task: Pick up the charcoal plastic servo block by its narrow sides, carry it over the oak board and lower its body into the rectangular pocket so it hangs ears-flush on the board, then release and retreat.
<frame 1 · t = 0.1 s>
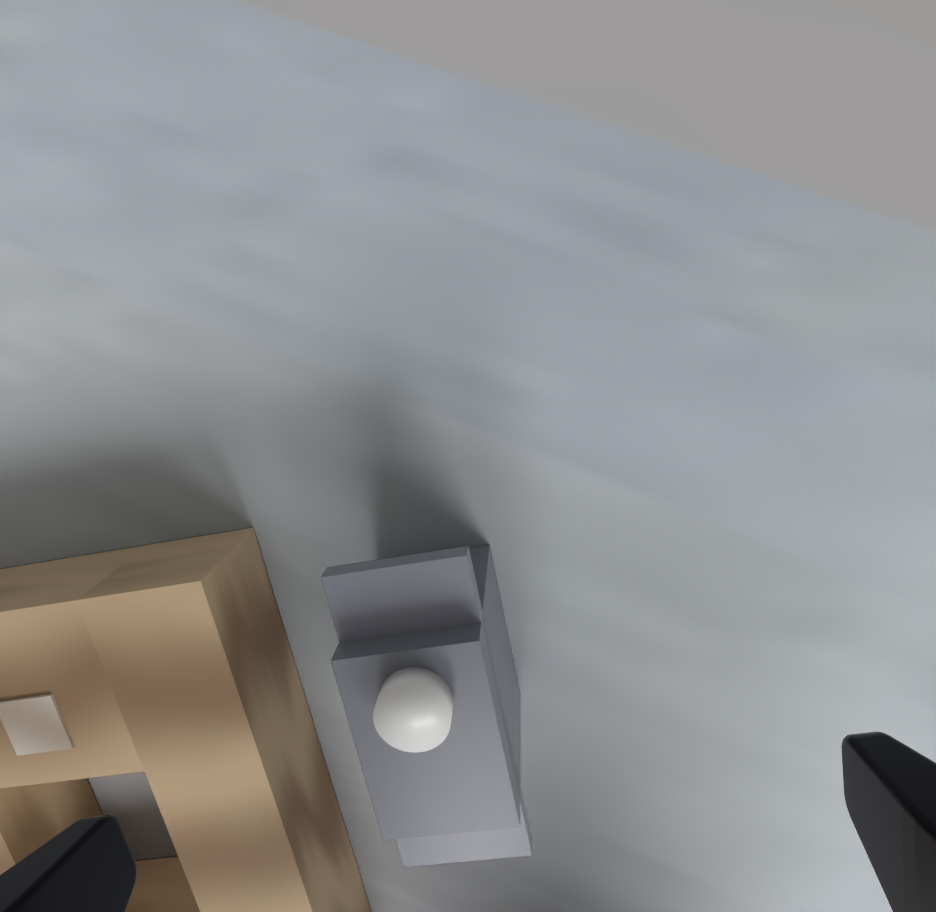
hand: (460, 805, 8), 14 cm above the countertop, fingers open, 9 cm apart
chassis board: (159, 782, 27), on the countertop
servo: (450, 628, 24), on the countertop
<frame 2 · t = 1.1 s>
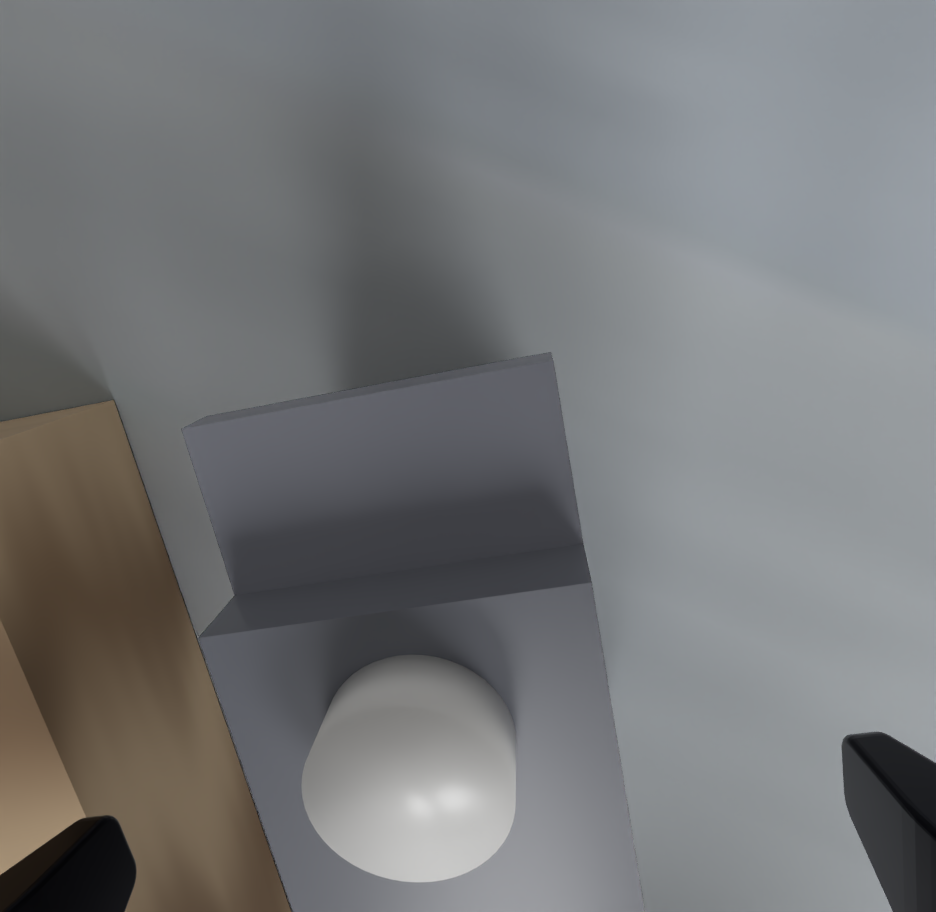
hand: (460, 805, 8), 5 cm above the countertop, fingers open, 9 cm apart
servo: (480, 591, 13), on the countertop
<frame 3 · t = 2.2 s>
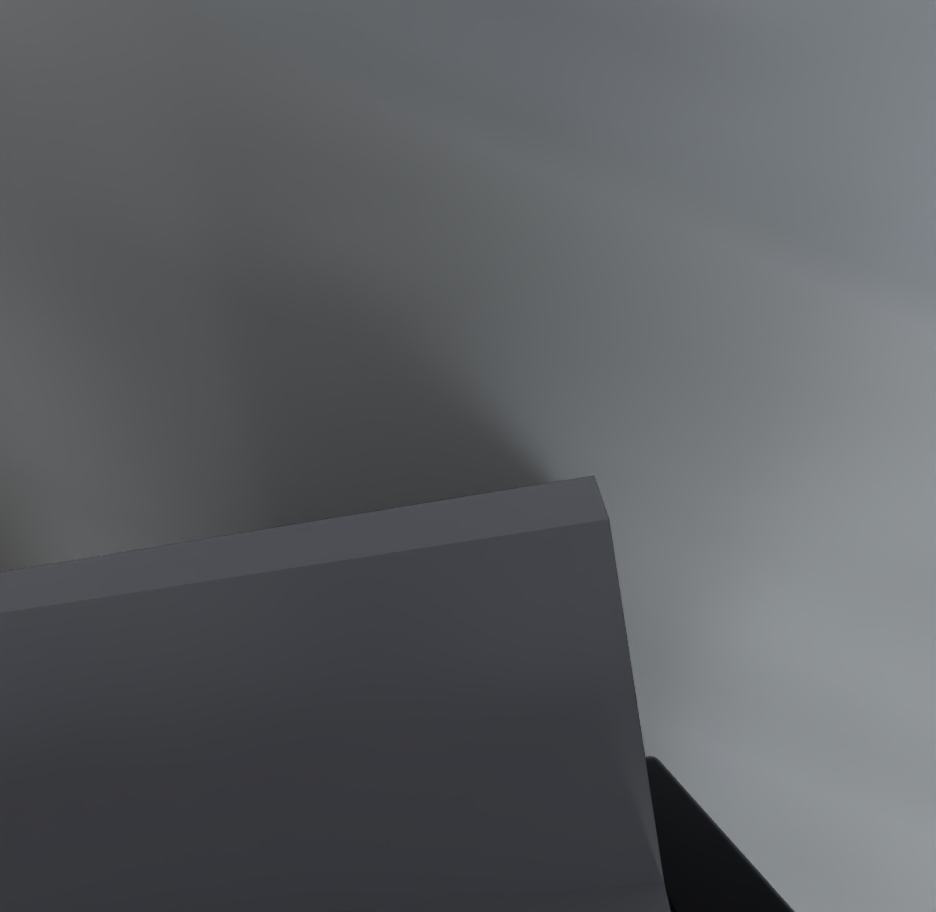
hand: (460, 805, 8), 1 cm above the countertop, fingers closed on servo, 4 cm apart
servo: (468, 734, 9), on the countertop, touching gripper
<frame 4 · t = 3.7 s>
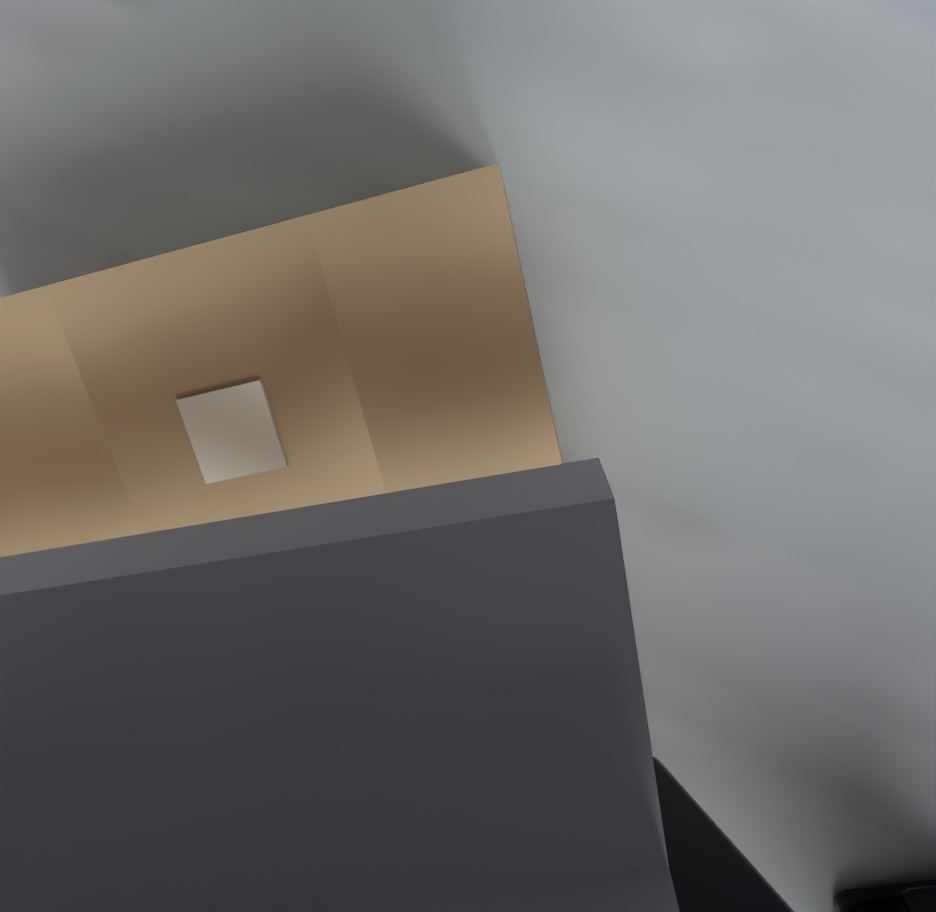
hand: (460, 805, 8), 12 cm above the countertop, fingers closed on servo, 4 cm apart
chassis board: (351, 586, 20), on the countertop
servo: (469, 729, 9), point 10 cm above the countertop, touching gripper
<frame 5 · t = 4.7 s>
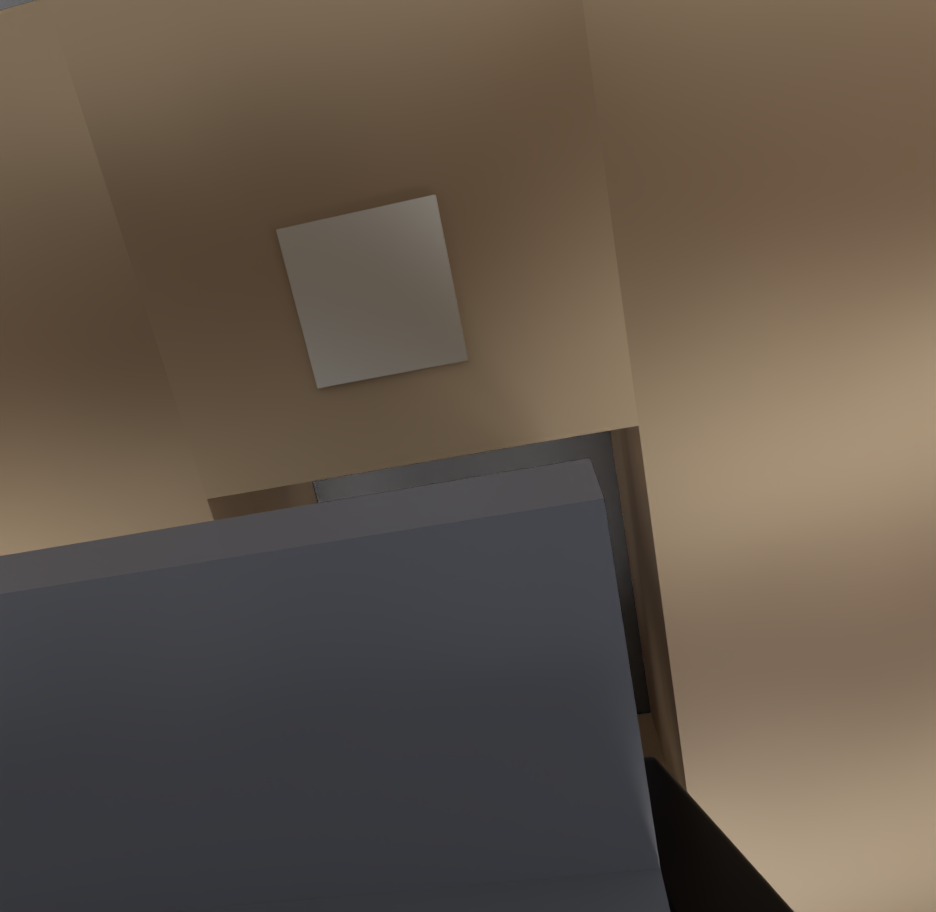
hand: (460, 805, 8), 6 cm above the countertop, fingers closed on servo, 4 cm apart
chassis board: (482, 577, 14), on the countertop
servo: (466, 729, 9), point 5 cm above the countertop, touching gripper
when the fingers open (4 cm above the countertop, at t = 5.3 s): servo drops 3 cm, resting in chassis board.
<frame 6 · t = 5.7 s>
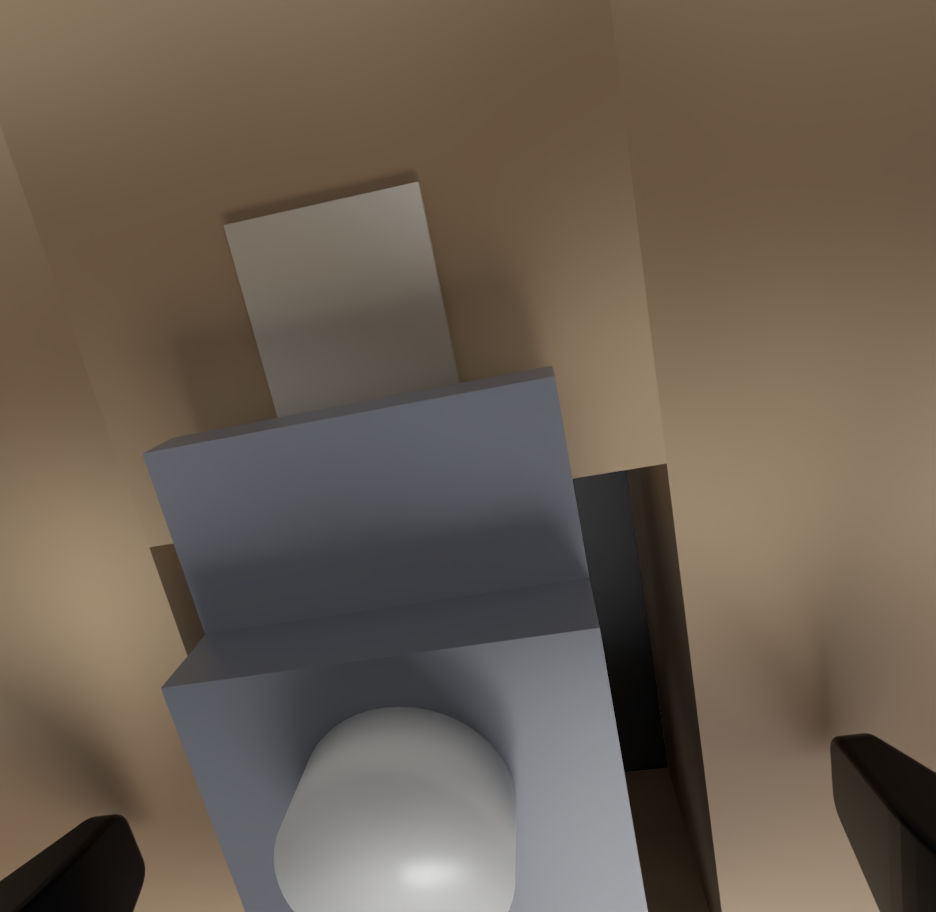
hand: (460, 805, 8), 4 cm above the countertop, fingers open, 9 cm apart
chassis board: (479, 618, 12), on the countertop
servo: (479, 612, 12), resting in chassis board
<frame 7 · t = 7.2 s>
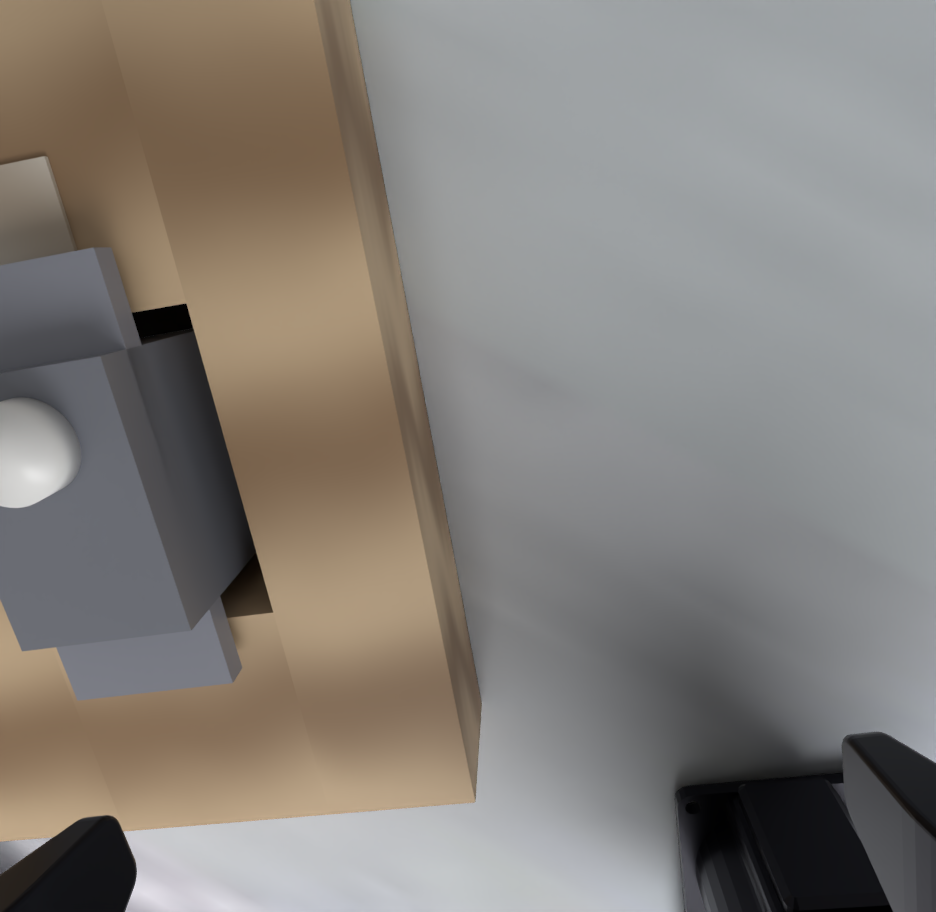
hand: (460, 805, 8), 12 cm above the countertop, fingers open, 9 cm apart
chassis board: (189, 439, 19), on the countertop
servo: (191, 436, 19), resting in chassis board
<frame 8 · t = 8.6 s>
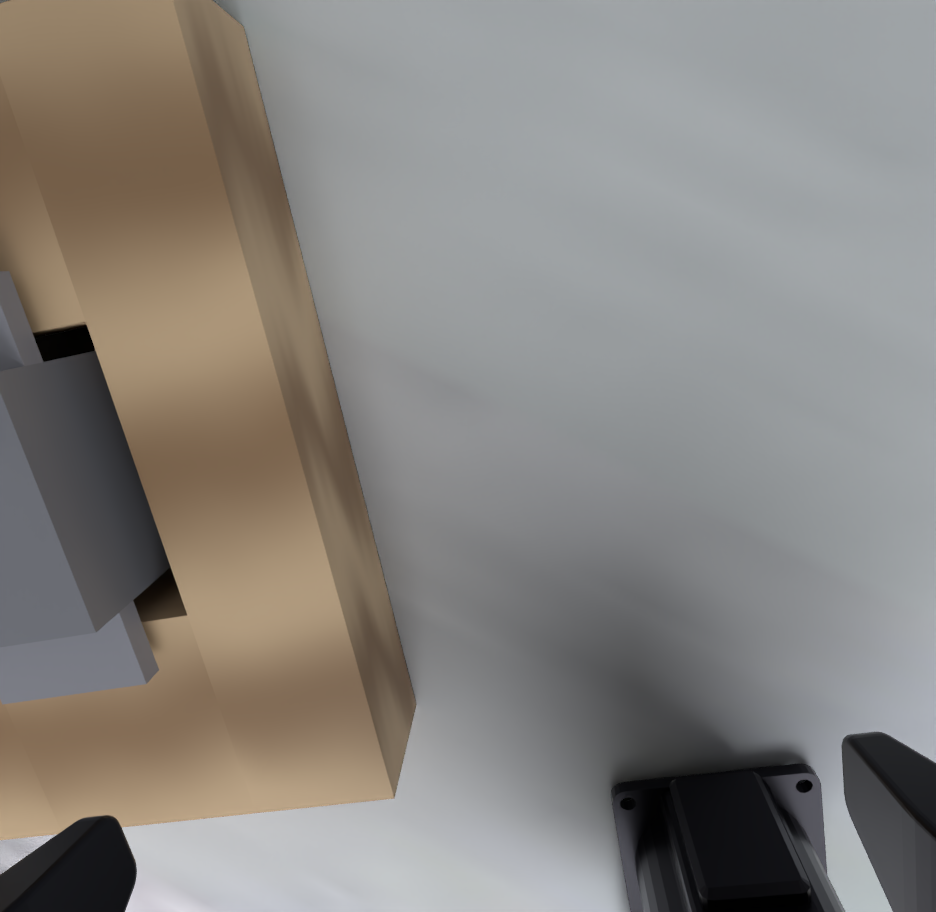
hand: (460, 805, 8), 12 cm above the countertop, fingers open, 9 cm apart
chassis board: (121, 452, 20), on the countertop
servo: (122, 449, 20), resting in chassis board
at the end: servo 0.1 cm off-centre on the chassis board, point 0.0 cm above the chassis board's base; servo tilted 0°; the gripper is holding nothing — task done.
